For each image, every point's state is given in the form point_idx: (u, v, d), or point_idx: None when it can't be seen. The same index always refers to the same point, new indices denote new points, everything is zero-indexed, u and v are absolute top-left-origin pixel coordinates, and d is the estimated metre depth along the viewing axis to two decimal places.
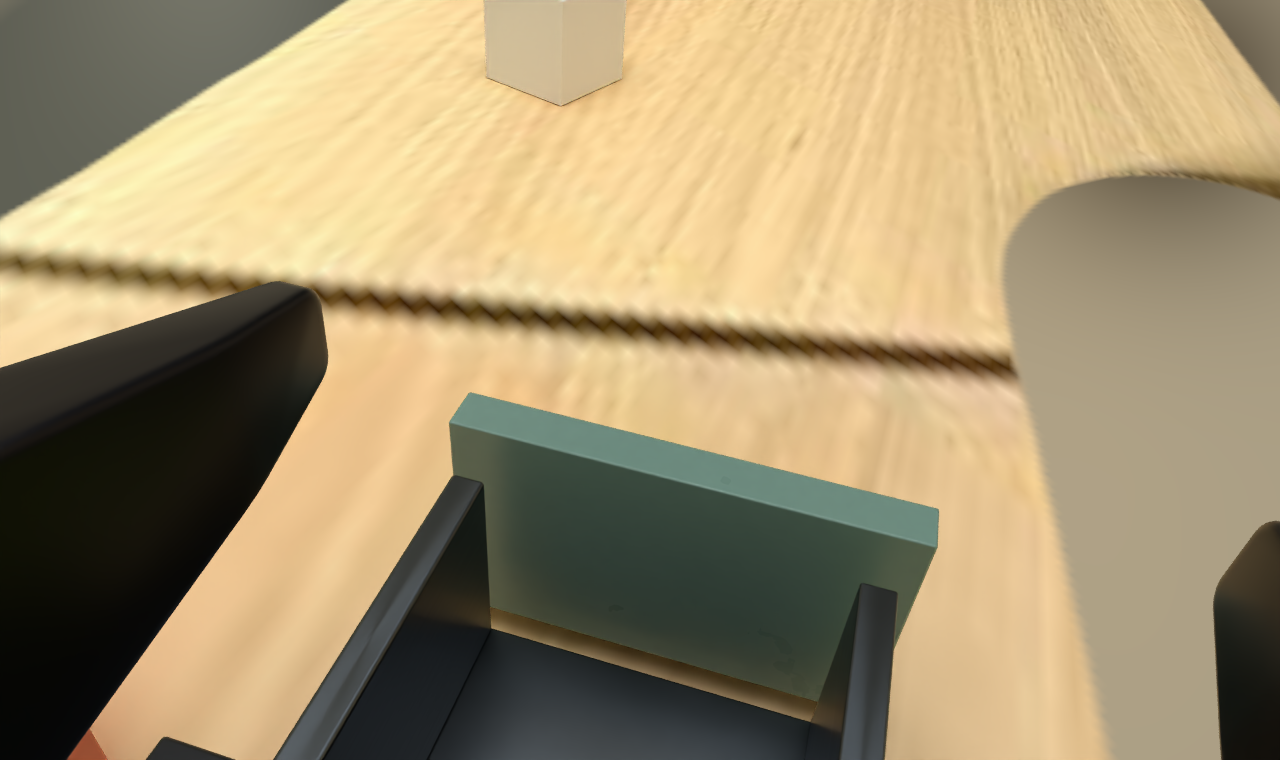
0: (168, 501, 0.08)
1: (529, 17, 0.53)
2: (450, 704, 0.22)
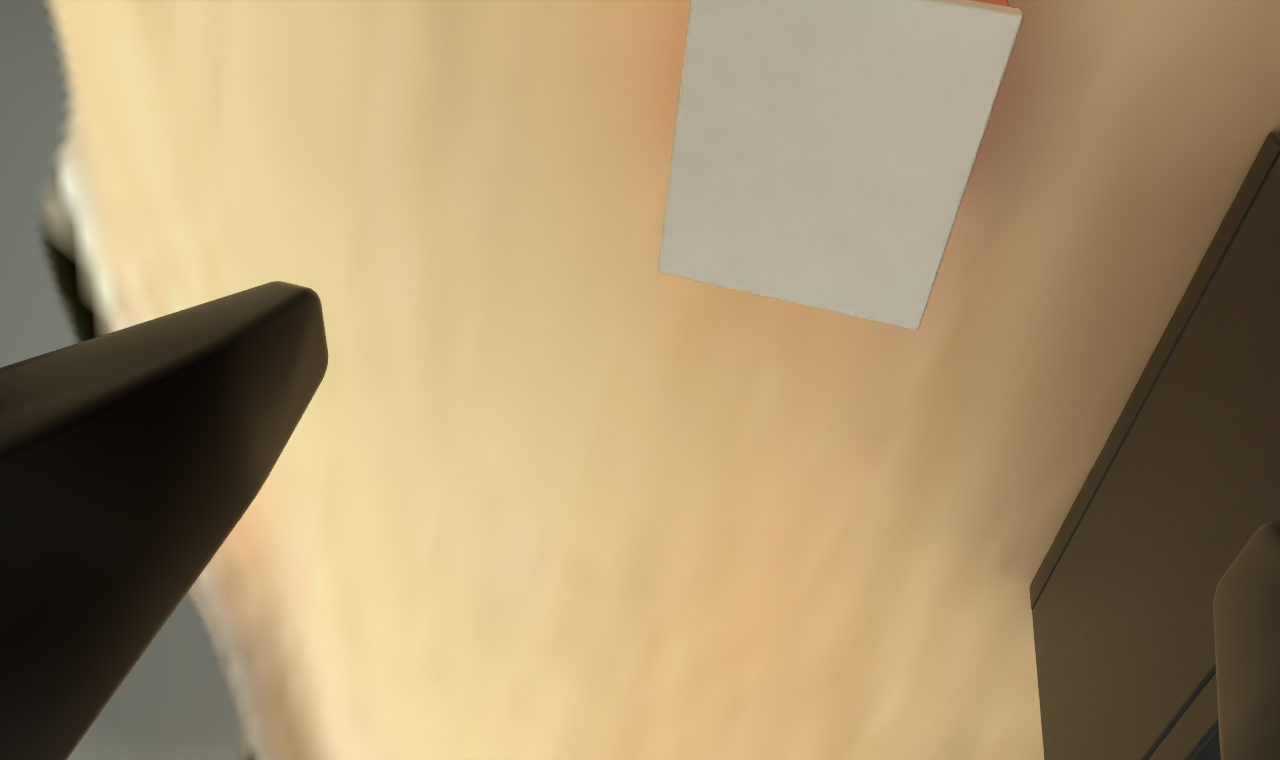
0: (167, 501, 0.08)
1: None
2: None
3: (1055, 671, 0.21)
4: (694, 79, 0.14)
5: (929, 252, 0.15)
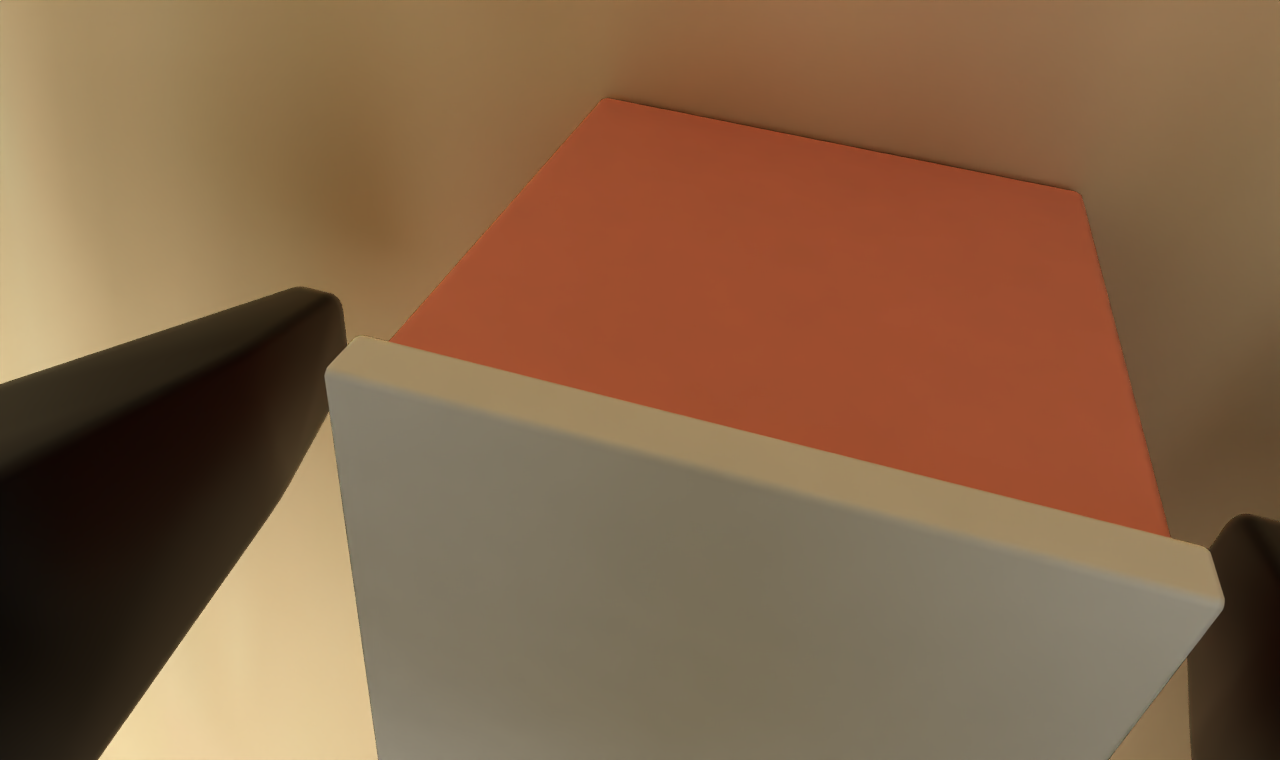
0: (193, 508, 0.08)
1: None
2: None
3: None
4: (379, 587, 0.06)
5: None
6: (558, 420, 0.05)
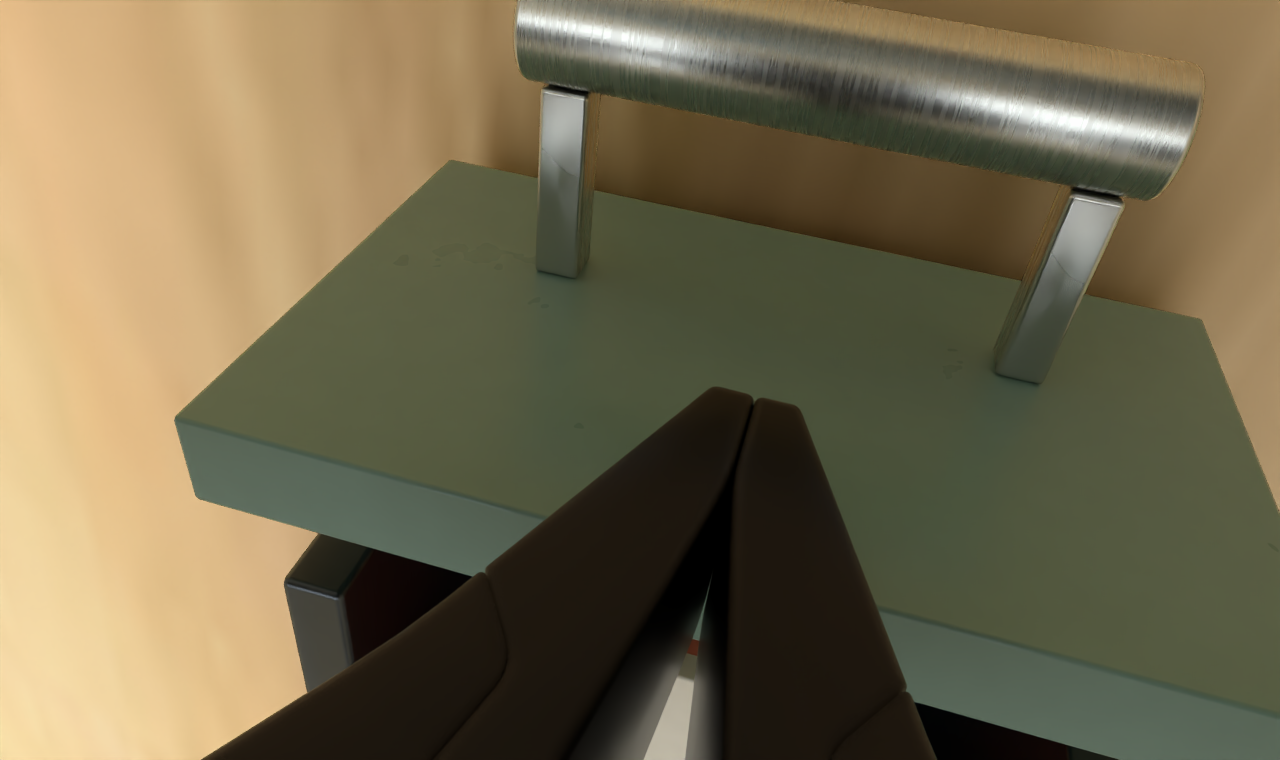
0: (674, 645, 0.07)
1: None
2: None
3: None
4: None
5: None
6: None
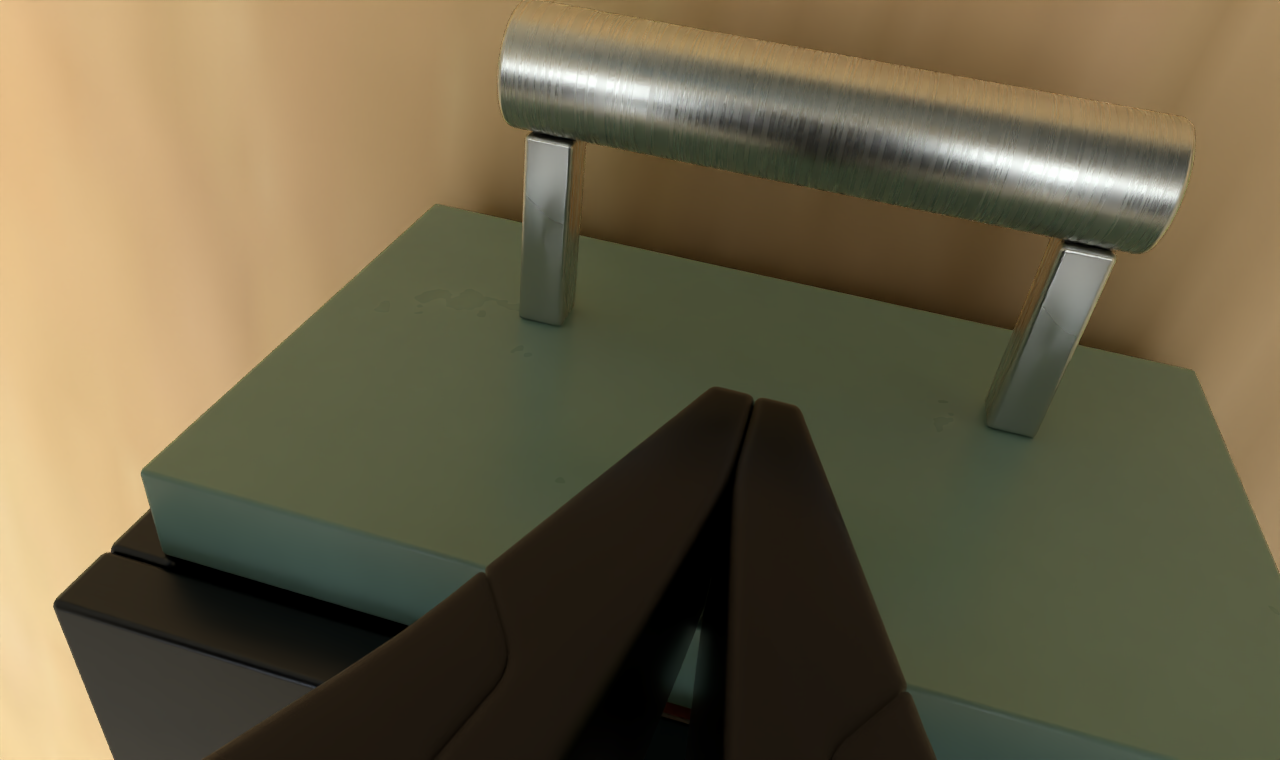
0: (674, 645, 0.07)
1: None
2: None
3: None
4: None
5: None
6: None
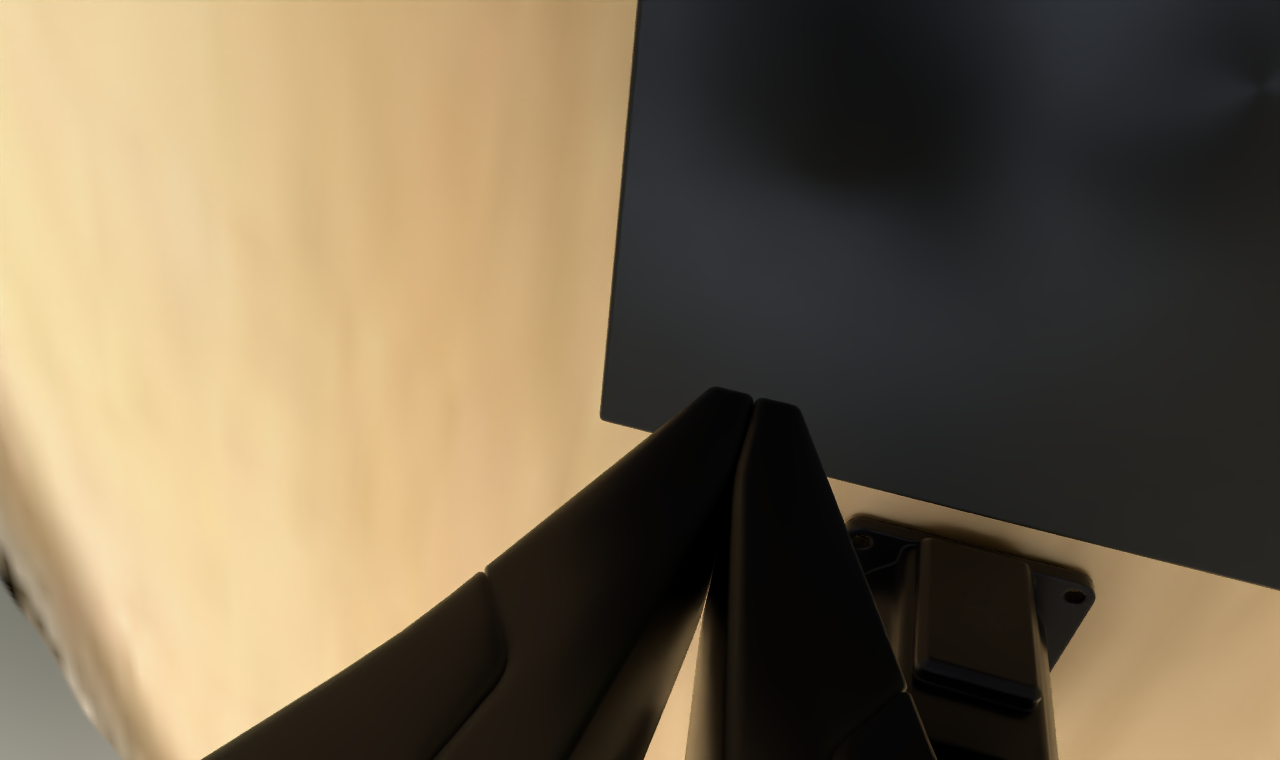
0: (674, 645, 0.07)
1: None
2: None
3: None
4: None
5: None
6: None
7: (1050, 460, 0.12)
